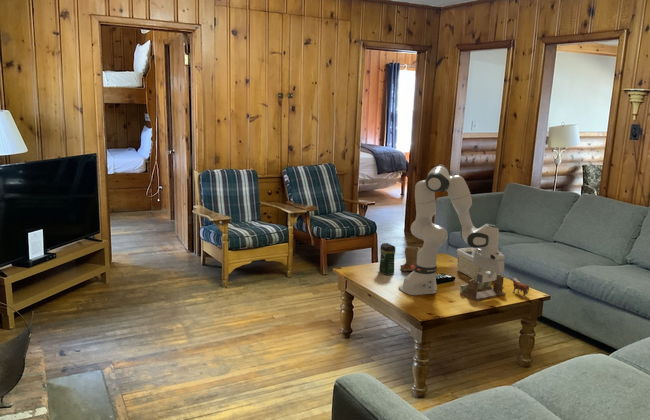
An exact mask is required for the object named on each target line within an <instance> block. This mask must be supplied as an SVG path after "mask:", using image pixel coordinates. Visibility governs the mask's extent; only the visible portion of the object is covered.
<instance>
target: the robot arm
mask: <svg viewBox="0 0 650 420" xmlns="http://www.w3.org/2000/svg"><path fill="white" fill-rule="evenodd" d="M450 172H451V171H450V170H449V168H448V167H447V166H446V165H444V164H438V165H435V166H433V167H432V168H431V170H430V171H429V172H428V173H427V176H426V178H425V179H423V180H419V181H417V183H416V184H415V186H414V201H415V211H416V212H415V213H416V214H415V219H414V221H413V222H412V223H411V225H410V232H411V234H412V235H413V236H414V237H415V238H417V239H419V240H421V241H423V244H422V247H419V248H420V249H419V250H418V252H417V263H416V265H415V266H413V265H411V267H410V268H412V269H414V270H413V271H412V272H410V273H409V274H408V275H407V276H405V278H404V279H403V282H402V285H399V286H398V289H399V290H400V291H401V292H402V293H405V294H408V295H411V296H419V295H420V296H422V295H430V294H432V295H433V294H436V293H437V290H438V287H437V280H436V279H437V277H436V276H437V275H436V273H437V268H438V267H437V258H438V252H439V249H440V247H441V246H442V245H444V244H445V243H446V242H447V240H448V237H449V236H448V235H449V234H448V231H447V230H446V229H445V228H444V227H442V226H441V225H439V224H436V223H433V217H434V216H435V215H436V213H437V204H436V203H437V202H436V192H447V194H448V196H449V200H450V202H451V204H452V207H453V208H454V210H455V212H456V214H457V217H458V221H459V223H460V238H461V240H462V241H463V242H465V244H467V245H468V246H469V248H480V249H481V250H480V249H476V250H475V254H474V258H473V263H474V264H475V265H477V266H480V267H481V271H482V272H485V269H487V270H490V274H489V275H488V277H489V278H492V277H493V274H494V273H497V274H501V275H502V274H503V273H504V271H505V261H504V260H505V257H506V256H505V255H504V254H503V253H502V252H501V251H499V246H498V245H499V244H498V243H499V238H500V236H499V235H500V229H499V227H498V226H497V225H495V224H492V223H484V225H482V226H481V227H478V228H477V227H476V226H475V225H474V224H473V221H472V218H471V214H470V208H471V207H472V206H473V201H472V200H473V199H472V195H471V191H470V188H469V186H468V184H467V182H466V180H465V179H464V177H463V176H462V175H458V174H457V175H452V176H451V173H450Z"/></svg>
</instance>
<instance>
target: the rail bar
mask: <svg viewBox="0 0 650 420" xmlns="http://www.w3.org/2000/svg"><path fill="white" fill-rule="evenodd" d="M489 274H490V271H487V272H482V273H477V281H478V282H480V283H484V282H489V281H492V282H494V280H497V275H498V274H497V273H494V274H493V277H492V278H489V277H488V275H489Z"/></svg>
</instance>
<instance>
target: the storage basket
mask: <svg viewBox="0 0 650 420" xmlns="http://www.w3.org/2000/svg"><path fill="white" fill-rule="evenodd" d="M476 249H480V250H481V247H480V248H472V247H463V248H457V249H456V257H457V258H456V260H457V261H456V263H457V264H456V266H457V268H456V269H457V271H459V272H460V273H462V274H464V275H466V276H467V277H469V278H470V279H475V280H476V281H477V273H482V271H481V267H480V266H477V265H475V264H474V263H473V258H474V254H475V250H476ZM470 253H471V254H470ZM487 271H490V270H487V269H485V272H487Z"/></svg>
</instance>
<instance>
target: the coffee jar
mask: <svg viewBox="0 0 650 420" xmlns="http://www.w3.org/2000/svg"><path fill="white" fill-rule="evenodd" d="M379 251H380V259H379V268H378V271H379V272H380V273H382V274H383V275H393V274H395V255H396V246H395V245H392V244H391V243H388V242H383V243H381V244H380V250H379Z"/></svg>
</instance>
